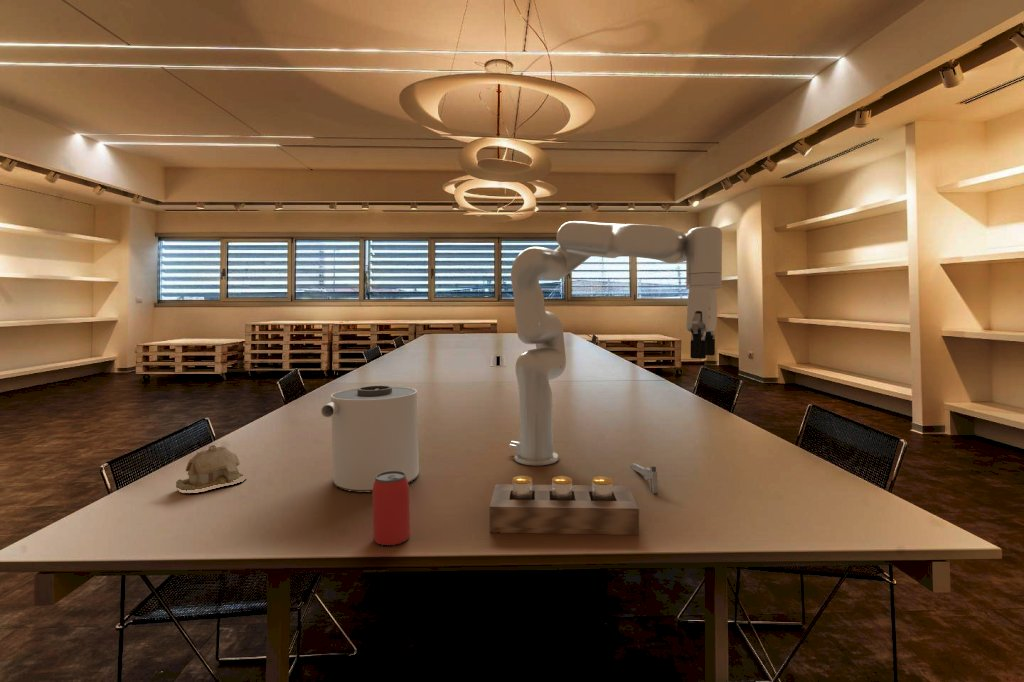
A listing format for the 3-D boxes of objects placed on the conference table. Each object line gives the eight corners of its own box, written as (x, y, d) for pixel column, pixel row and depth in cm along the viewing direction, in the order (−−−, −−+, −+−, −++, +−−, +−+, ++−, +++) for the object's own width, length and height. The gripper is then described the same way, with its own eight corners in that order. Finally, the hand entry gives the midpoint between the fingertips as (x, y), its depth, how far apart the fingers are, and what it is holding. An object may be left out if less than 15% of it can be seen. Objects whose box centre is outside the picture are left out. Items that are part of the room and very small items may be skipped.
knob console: (489, 532, 90) (489, 506, 90) (495, 507, 102) (495, 484, 102) (638, 534, 88) (638, 508, 88) (627, 508, 100) (627, 485, 100)
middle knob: (552, 505, 93) (552, 482, 93) (551, 497, 97) (551, 475, 97) (572, 506, 93) (572, 483, 93) (571, 498, 97) (571, 476, 97)
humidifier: (410, 493, 111) (408, 394, 110) (319, 495, 110) (316, 396, 109) (424, 464, 132) (422, 381, 131) (348, 466, 132) (346, 382, 130)
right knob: (593, 506, 93) (593, 483, 93) (591, 498, 97) (591, 476, 96) (613, 506, 93) (613, 483, 92) (610, 498, 96) (610, 476, 96)
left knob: (512, 505, 94) (511, 482, 93) (513, 497, 98) (512, 475, 97) (532, 505, 93) (531, 482, 93) (532, 497, 97) (532, 475, 97)
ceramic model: (228, 473, 127) (227, 437, 126) (254, 480, 121) (252, 442, 121) (170, 491, 115) (167, 450, 114) (195, 499, 109) (192, 456, 108)
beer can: (391, 551, 84) (389, 484, 83) (366, 541, 87) (364, 477, 86) (417, 536, 89) (416, 473, 88) (392, 528, 93) (391, 467, 92)
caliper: (657, 495, 108) (658, 468, 108) (653, 495, 108) (653, 468, 108) (634, 467, 129) (634, 444, 128) (630, 467, 129) (630, 444, 128)
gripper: (695, 284, 118) (694, 353, 119) (676, 281, 103) (676, 359, 104) (728, 283, 113) (727, 354, 114) (713, 279, 99) (712, 360, 100)
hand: (703, 356), depth 109 cm, fingers open, 9 cm apart
